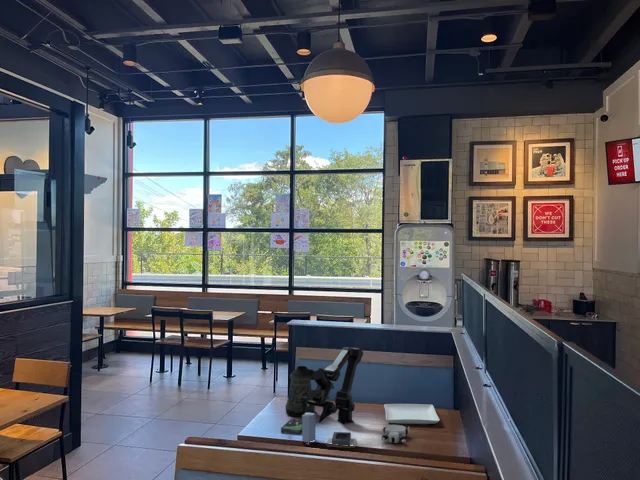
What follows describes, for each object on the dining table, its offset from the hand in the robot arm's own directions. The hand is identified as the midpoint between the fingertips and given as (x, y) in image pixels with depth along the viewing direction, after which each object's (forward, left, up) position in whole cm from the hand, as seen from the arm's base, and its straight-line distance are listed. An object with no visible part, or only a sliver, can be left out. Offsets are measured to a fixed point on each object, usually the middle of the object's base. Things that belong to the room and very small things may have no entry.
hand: (310, 420), depth 218 cm
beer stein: (-15, -40, -9) cm, 44 cm away
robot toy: (-36, +17, -9) cm, 41 cm away
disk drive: (0, -18, -10) cm, 21 cm away
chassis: (-11, +10, -9) cm, 17 cm away
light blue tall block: (+1, +1, -9) cm, 9 cm away
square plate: (-61, -4, -10) cm, 62 cm away
